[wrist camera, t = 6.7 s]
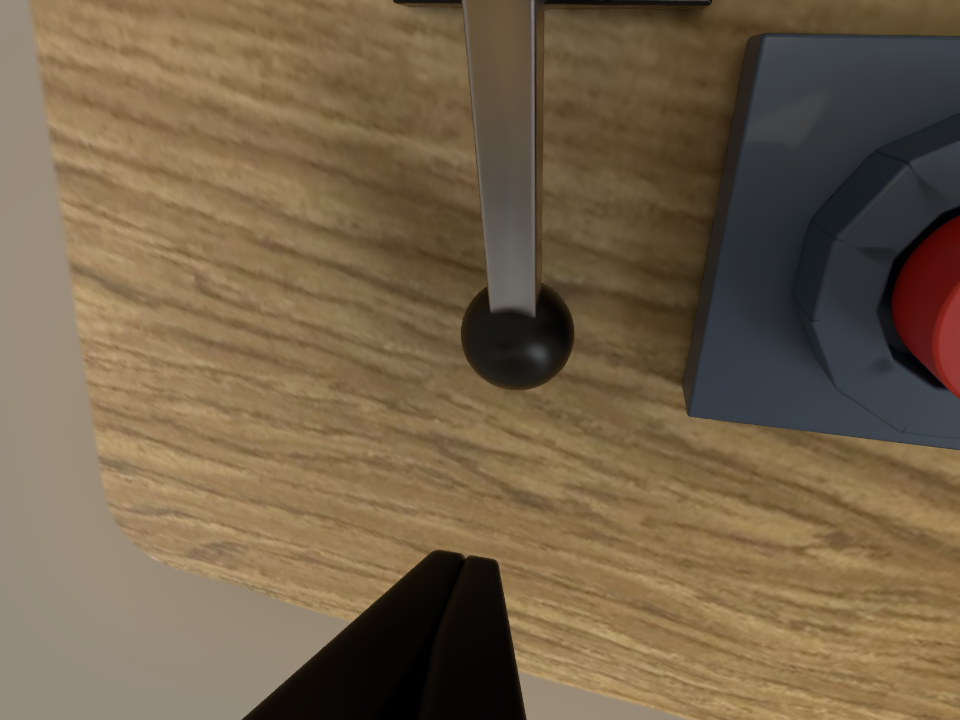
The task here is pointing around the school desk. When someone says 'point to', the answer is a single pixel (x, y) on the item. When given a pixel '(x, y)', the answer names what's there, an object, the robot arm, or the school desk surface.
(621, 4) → the lever bracket
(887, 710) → the school desk surface
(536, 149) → the lever handle
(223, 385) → the school desk surface
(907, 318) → the red button
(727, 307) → the button block
